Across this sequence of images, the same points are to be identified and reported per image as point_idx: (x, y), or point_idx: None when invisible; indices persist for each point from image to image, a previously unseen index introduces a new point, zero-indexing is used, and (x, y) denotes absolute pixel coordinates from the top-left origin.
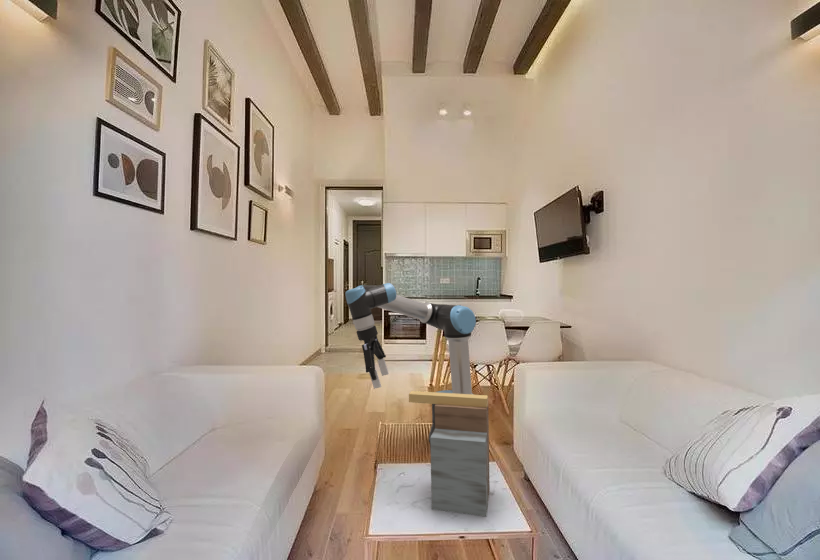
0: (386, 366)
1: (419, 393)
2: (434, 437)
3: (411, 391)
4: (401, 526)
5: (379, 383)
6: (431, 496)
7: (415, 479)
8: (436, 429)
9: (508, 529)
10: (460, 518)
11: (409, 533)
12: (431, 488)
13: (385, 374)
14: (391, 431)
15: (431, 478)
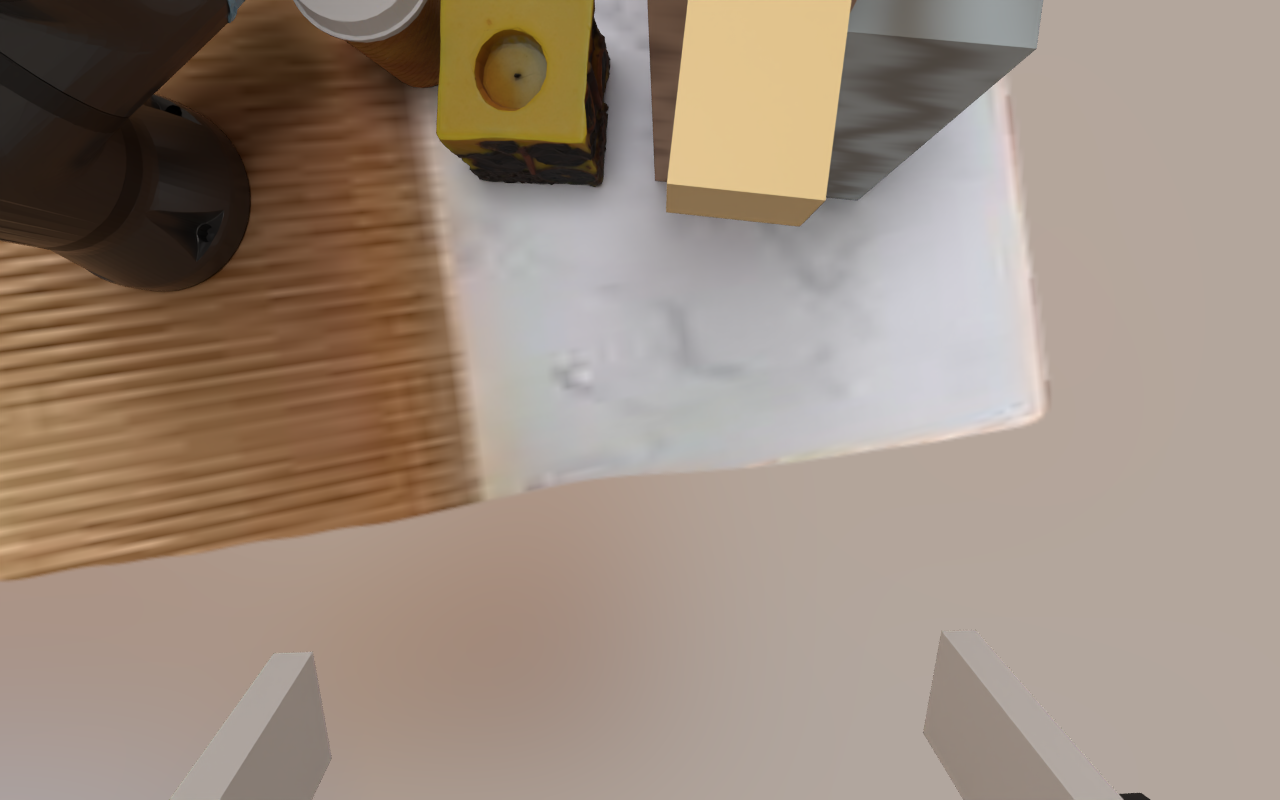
0: (187, 790)
1: (788, 45)
2: (1035, 13)
3: (698, 181)
4: (987, 307)
5: (1017, 684)
6: (875, 184)
7: (619, 304)
8: (859, 16)
9: None
10: None
11: (1028, 268)
12: (888, 172)
13: (318, 707)
14: (80, 528)
15: (908, 155)
